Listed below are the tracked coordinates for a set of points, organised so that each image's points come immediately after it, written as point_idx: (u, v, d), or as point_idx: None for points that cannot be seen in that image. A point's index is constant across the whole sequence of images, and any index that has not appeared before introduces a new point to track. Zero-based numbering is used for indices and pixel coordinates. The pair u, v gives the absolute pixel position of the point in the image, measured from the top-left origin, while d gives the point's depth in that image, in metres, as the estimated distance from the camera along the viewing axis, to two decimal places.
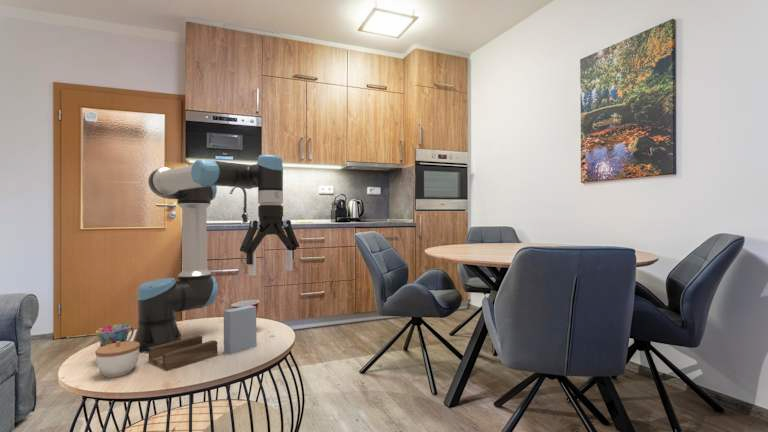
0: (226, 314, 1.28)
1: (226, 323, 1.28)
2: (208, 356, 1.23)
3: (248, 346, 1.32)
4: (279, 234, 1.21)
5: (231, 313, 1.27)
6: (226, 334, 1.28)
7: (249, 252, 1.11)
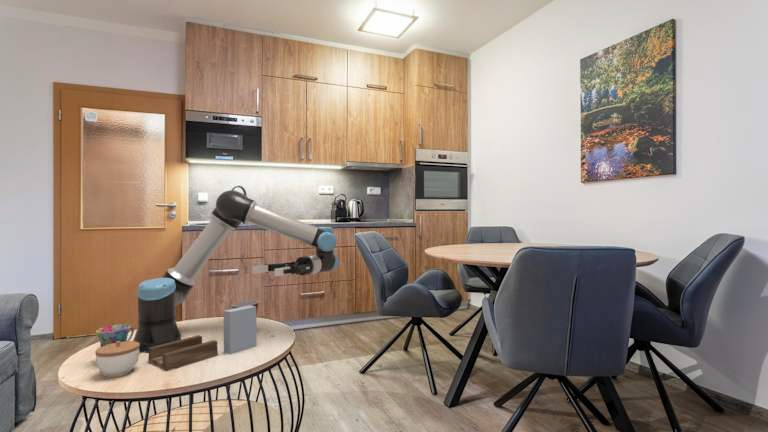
0: (226, 314, 1.28)
1: (226, 323, 1.28)
2: (208, 356, 1.23)
3: (248, 346, 1.32)
4: (284, 267, 1.51)
5: (231, 313, 1.27)
6: (226, 334, 1.28)
7: (293, 273, 1.40)
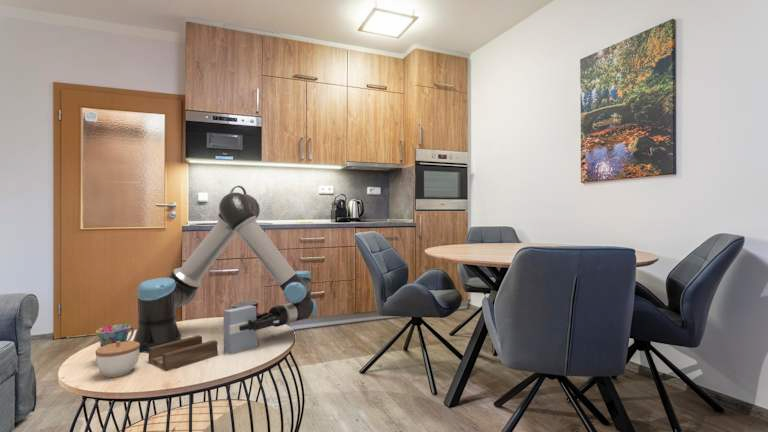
0: (226, 314, 1.28)
1: (226, 323, 1.28)
2: (208, 356, 1.23)
3: (248, 346, 1.32)
4: None
5: (231, 313, 1.27)
6: (226, 334, 1.28)
7: (250, 328, 1.31)
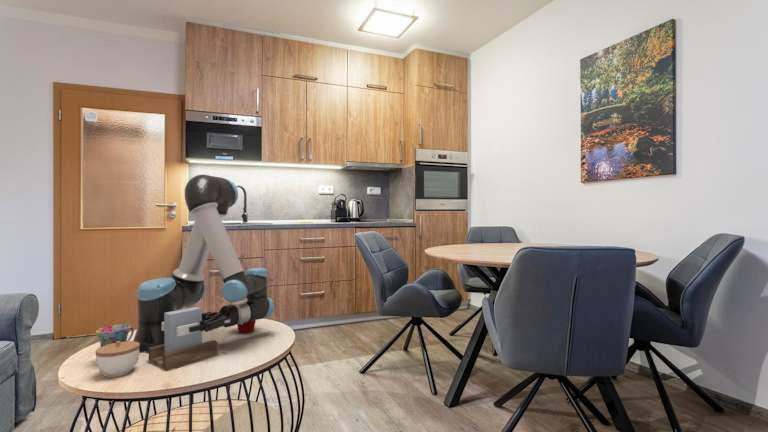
0: (166, 316, 1.19)
1: (166, 326, 1.19)
2: (208, 356, 1.23)
3: None
4: (204, 320, 1.31)
5: (171, 315, 1.18)
6: (166, 338, 1.19)
7: (202, 330, 1.21)
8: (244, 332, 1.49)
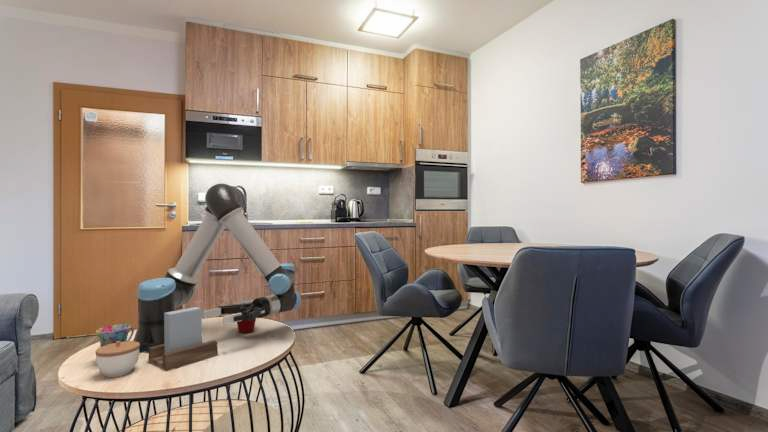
0: (166, 316, 1.19)
1: (166, 326, 1.19)
2: (208, 356, 1.23)
3: None
4: (239, 310, 1.42)
5: (171, 315, 1.18)
6: (166, 338, 1.19)
7: (244, 319, 1.32)
8: (244, 330, 1.49)
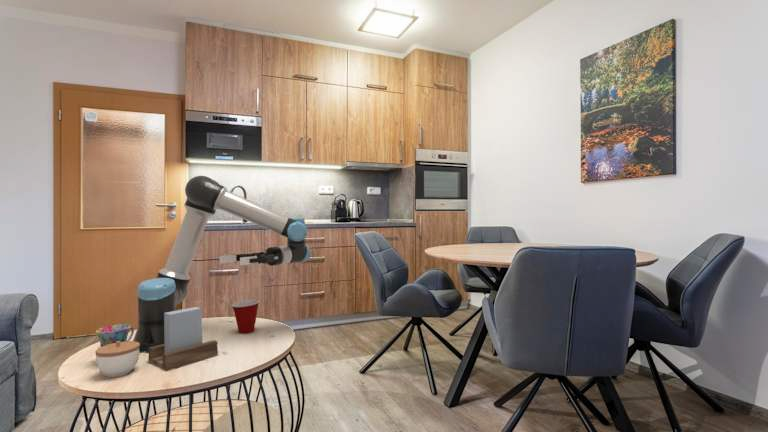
0: (166, 316, 1.19)
1: (166, 326, 1.19)
2: (208, 356, 1.23)
3: None
4: None
5: (171, 315, 1.18)
6: (166, 338, 1.19)
7: (260, 262, 1.39)
8: (244, 332, 1.49)
